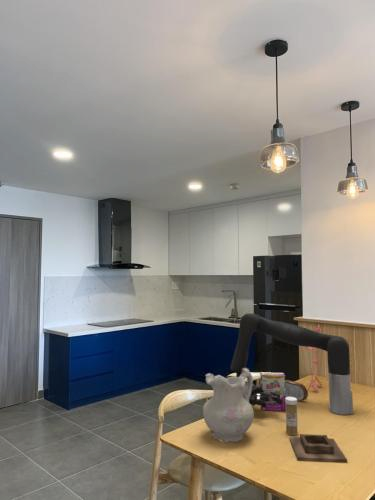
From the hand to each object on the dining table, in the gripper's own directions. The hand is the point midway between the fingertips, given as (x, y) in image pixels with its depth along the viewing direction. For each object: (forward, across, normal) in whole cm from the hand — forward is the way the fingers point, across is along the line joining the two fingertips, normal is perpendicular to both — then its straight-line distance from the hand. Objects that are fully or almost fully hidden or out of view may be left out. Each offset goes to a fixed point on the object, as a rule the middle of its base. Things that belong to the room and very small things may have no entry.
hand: (273, 403), depth 157 cm
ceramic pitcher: (+3, -23, +8) cm, 24 cm away
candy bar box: (-13, +10, +8) cm, 18 cm away
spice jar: (+11, 0, +8) cm, 14 cm away
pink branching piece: (-26, +52, +8) cm, 58 cm away
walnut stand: (+26, -2, +8) cm, 28 cm away
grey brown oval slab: (-21, +28, +8) cm, 36 cm away
